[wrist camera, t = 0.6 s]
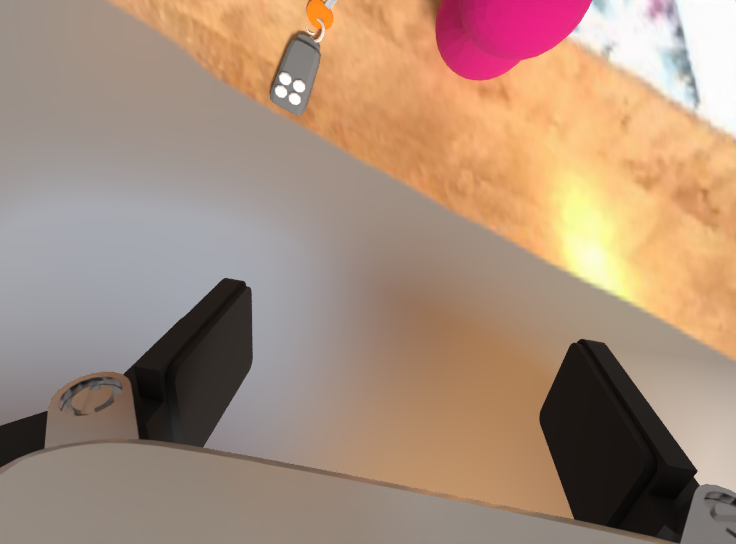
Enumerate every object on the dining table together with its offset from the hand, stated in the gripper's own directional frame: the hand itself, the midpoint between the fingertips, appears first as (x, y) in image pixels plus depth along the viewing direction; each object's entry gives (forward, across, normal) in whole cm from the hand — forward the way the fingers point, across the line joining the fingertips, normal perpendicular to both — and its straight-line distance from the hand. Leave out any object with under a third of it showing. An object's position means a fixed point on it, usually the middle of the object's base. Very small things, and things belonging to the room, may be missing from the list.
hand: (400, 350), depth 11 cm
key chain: (+30, +11, -10) cm, 33 cm away
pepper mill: (+29, -3, -12) cm, 31 cm away
